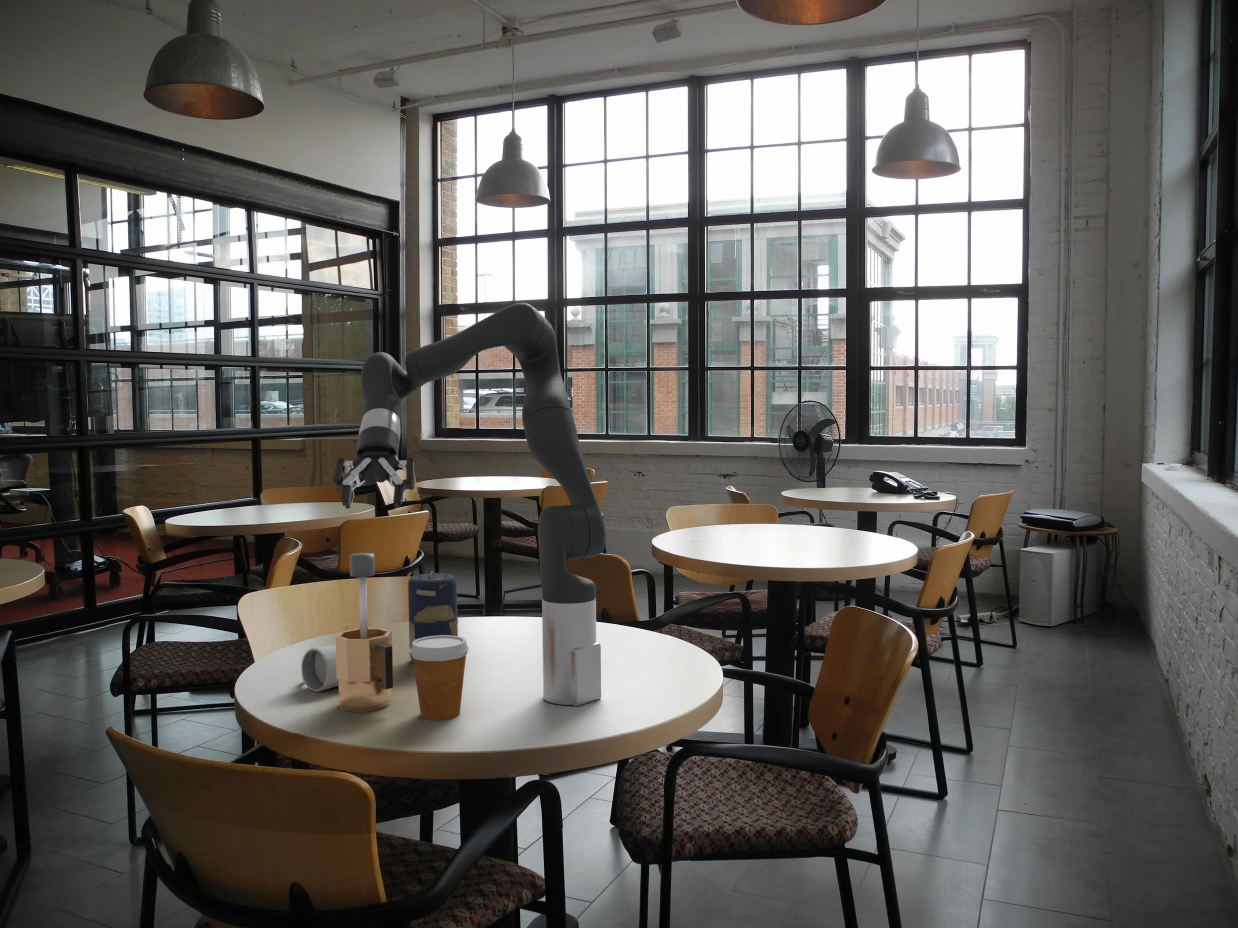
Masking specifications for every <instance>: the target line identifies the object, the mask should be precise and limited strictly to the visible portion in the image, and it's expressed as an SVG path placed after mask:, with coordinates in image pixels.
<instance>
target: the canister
mask: <svg viewBox="0 0 1238 928" xmlns="http://www.w3.org/2000/svg"><path fill="white" fill-rule="evenodd" d="M407 583H408V584H407V587H408V588H407V592H408V594H407V595H408V600H407V601H408V639H409V640H408V641H409V645H408V646H409V650H410V649H411V648H412V644H413V641H415V640H417V639H419V638H423V637H429V636H440V635H451V636H459V629H458V628H459V627H458V626H459V625H458V624H459V618H458V589H457V588H458V587H457V585H458V584H457V578H456V576H454V575H452V574H449V573H441V572H440V573H439V572H438V573H437V572H436V573H435V572H434V571H433V570H430V573H421V574H416V575H414V576H411V577H410V578H409V580H408V582H407ZM409 658H410V659H411V660H412V661H413V657H412V656H411V654H410V653H409Z"/></svg>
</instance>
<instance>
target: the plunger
mask: <svg viewBox="0 0 1238 928" xmlns="http://www.w3.org/2000/svg"><path fill="white" fill-rule="evenodd" d="M375 556H376V555H375V553H373V552H356V553H351V554H349V568H350V569H349V575H350V577H352V578H358V589H359V590H358V593H359V594H358V595H359V600H358V601H359V628H360V639H368V629H367V628H368V598H367V597H368V596H367V595H368V594H367V593H368V591H367V578H368V577H373V576H375V575H376V571H375V570H376V568H375V567H376V563H375Z"/></svg>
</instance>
